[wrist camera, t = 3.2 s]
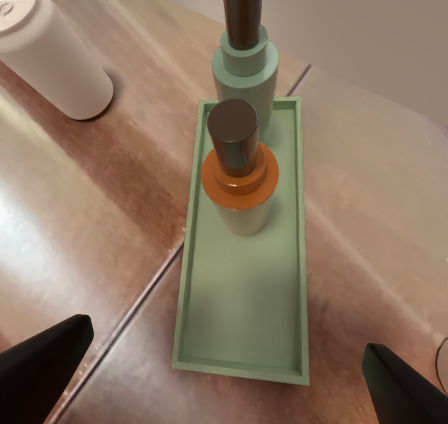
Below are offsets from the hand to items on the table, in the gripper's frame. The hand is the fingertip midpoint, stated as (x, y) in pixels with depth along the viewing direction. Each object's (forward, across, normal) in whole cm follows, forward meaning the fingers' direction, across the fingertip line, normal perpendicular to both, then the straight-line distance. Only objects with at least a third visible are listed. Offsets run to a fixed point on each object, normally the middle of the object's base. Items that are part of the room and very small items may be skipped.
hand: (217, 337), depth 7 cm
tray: (+18, 0, +2) cm, 18 cm away
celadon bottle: (+23, 0, -6) cm, 24 cm away
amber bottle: (+18, 0, +2) cm, 18 cm away
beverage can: (+28, +23, -12) cm, 38 cm away
